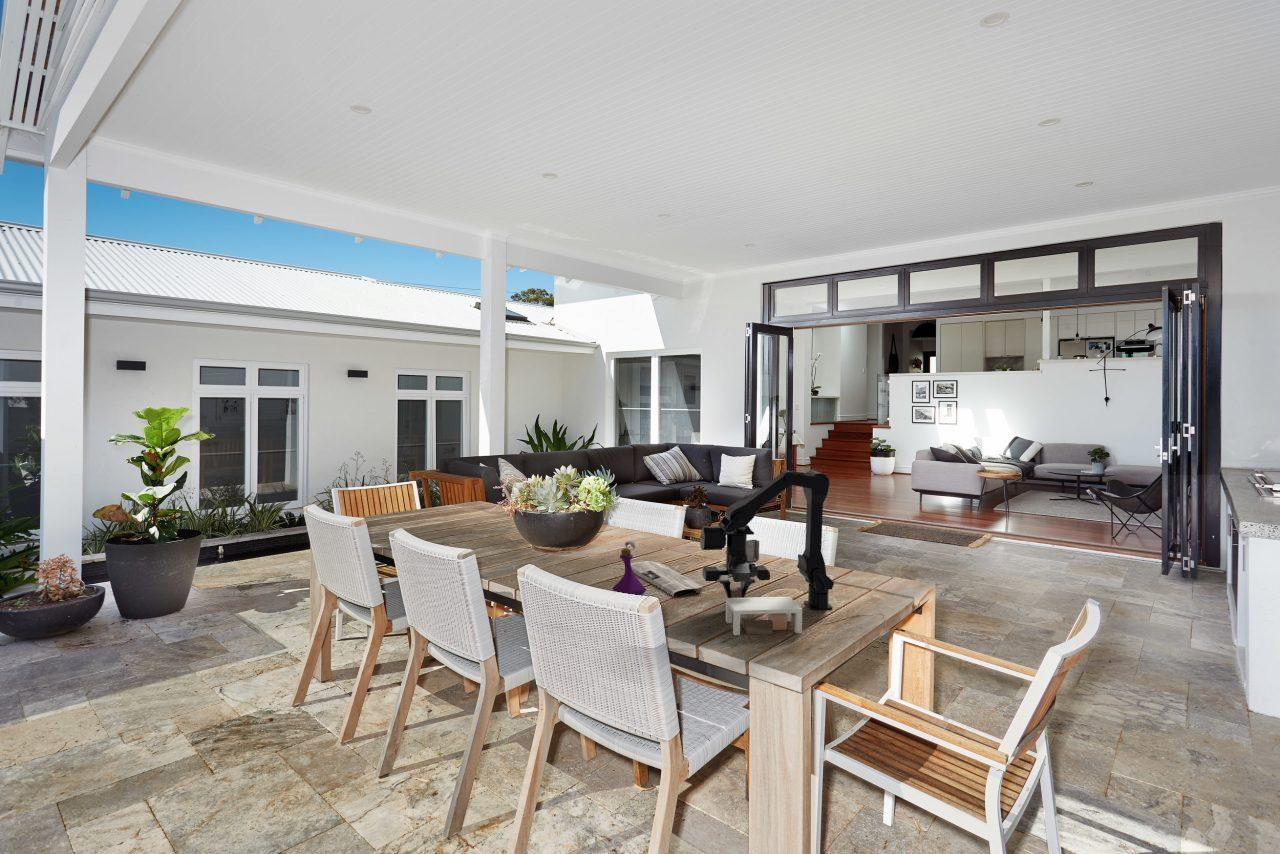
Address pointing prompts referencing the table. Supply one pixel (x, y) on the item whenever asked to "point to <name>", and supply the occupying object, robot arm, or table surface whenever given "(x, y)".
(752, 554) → the ruin model on sheet
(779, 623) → the terracotta block
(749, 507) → the robot arm
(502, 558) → the table surface
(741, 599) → the low shelf
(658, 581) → the newspaper
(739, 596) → the tan post with foot
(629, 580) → the perfume bottle
